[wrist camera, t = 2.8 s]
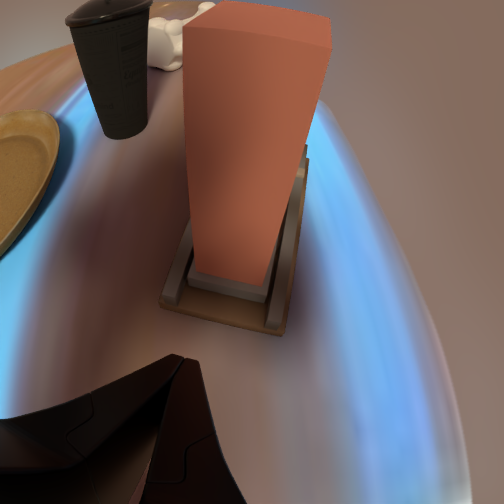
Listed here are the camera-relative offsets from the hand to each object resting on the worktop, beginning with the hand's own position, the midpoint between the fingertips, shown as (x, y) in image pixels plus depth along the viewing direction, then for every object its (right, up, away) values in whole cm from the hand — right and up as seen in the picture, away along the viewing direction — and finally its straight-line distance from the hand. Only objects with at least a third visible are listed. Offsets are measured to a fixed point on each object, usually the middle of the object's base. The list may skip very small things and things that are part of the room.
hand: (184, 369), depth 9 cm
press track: (+2, +6, +15) cm, 16 cm away
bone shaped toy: (-7, +33, +31) cm, 46 cm away
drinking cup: (-11, +17, +20) cm, 29 cm away
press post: (+1, +3, +12) cm, 12 cm away
